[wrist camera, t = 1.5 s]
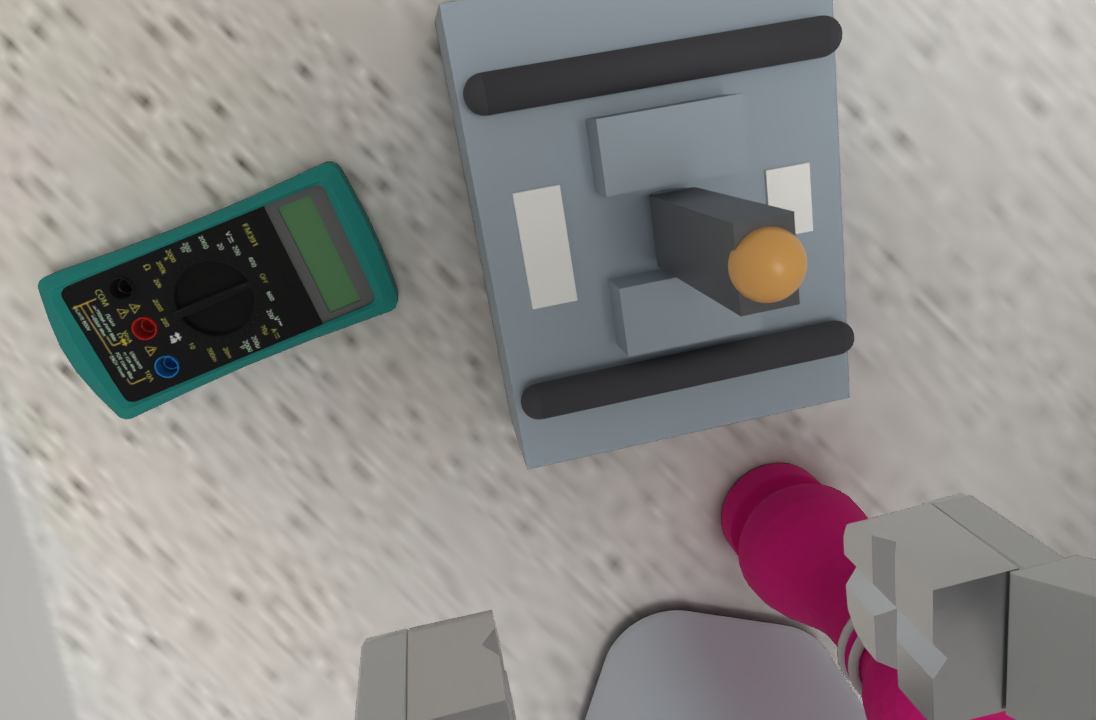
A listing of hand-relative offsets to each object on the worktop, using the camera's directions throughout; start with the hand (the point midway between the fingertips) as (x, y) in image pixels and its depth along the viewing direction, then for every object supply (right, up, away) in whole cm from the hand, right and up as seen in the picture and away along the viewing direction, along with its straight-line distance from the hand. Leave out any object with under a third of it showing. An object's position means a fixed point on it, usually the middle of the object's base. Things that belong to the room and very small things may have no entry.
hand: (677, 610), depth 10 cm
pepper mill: (+12, -6, +37) cm, 39 cm away
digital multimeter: (-17, +7, +29) cm, 34 cm away
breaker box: (+3, +11, +30) cm, 32 cm away
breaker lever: (+4, +9, +24) cm, 25 cm away
